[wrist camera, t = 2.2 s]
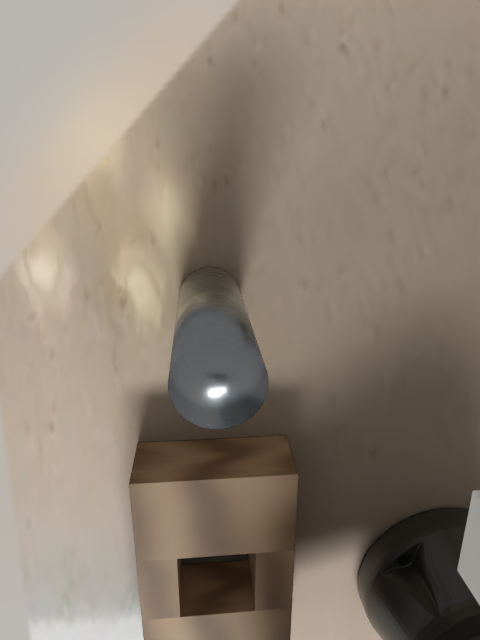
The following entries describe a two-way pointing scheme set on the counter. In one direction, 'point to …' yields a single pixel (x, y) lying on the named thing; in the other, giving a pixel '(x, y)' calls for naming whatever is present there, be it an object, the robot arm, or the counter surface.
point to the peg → (215, 354)
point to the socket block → (215, 537)
